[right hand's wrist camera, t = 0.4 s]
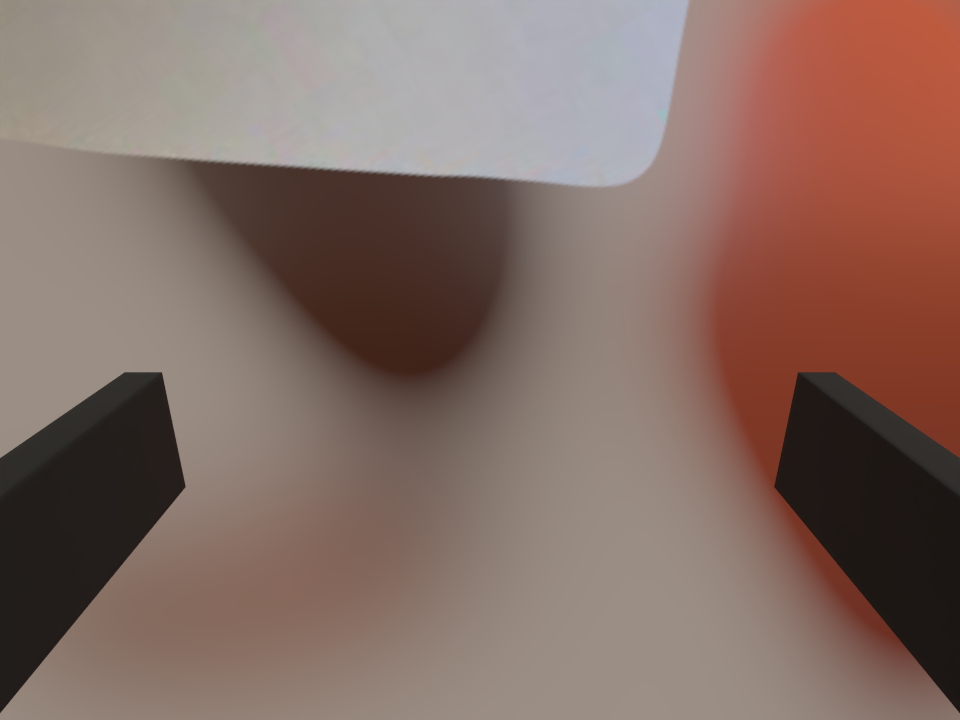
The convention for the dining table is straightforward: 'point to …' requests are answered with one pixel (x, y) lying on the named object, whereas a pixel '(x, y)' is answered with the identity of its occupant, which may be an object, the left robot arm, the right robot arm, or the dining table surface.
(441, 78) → the dining table surface
